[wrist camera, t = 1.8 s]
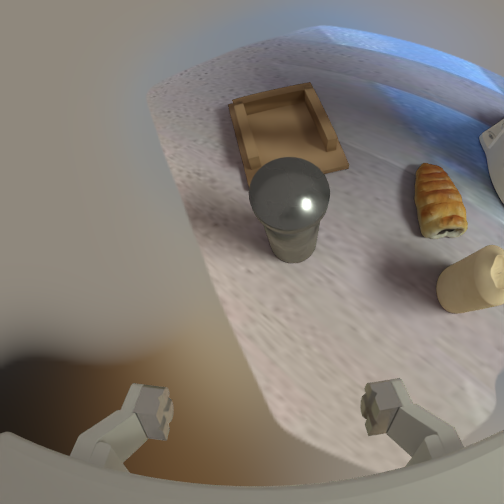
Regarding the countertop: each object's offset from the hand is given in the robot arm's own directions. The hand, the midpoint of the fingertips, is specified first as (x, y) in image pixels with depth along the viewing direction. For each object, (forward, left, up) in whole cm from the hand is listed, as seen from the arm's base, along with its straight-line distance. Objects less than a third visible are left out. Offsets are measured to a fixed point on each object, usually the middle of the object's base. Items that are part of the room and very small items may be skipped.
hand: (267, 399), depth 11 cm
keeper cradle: (-18, -20, -19) cm, 33 cm away
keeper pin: (-9, -9, -19) cm, 23 cm away
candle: (-19, +8, -20) cm, 28 cm away
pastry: (-24, 0, -20) cm, 31 cm away
